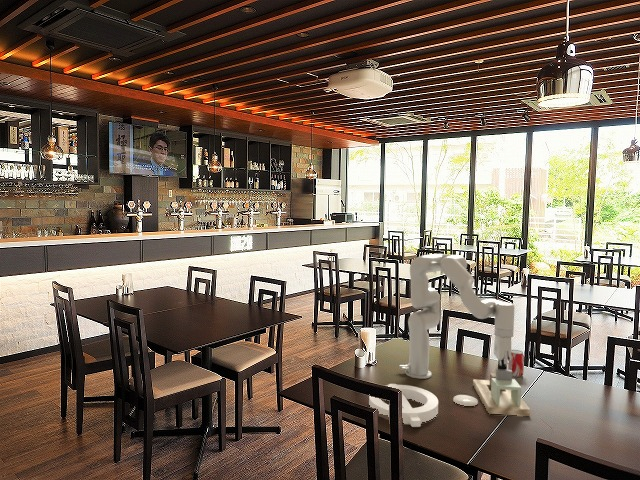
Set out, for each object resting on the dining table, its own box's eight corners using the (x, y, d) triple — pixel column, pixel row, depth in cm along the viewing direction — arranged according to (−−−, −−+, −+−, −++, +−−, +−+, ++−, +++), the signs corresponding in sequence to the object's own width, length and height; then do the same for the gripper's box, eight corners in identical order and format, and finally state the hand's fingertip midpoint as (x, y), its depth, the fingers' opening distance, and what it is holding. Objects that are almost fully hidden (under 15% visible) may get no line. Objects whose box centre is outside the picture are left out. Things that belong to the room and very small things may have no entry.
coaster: (455, 406, 197) (455, 403, 197) (451, 396, 207) (451, 394, 207) (480, 407, 196) (480, 405, 196) (475, 397, 206) (475, 395, 206)
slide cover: (496, 404, 191) (497, 376, 190) (490, 395, 200) (492, 368, 199) (520, 406, 190) (521, 377, 189) (513, 397, 199) (515, 369, 198)
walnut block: (491, 396, 208) (492, 376, 207) (489, 392, 212) (490, 372, 212) (502, 396, 207) (503, 377, 207) (499, 392, 212) (500, 373, 211)
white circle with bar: (391, 390, 214) (391, 379, 214) (449, 407, 197) (449, 396, 196) (355, 410, 193) (356, 399, 192) (417, 432, 175) (418, 420, 175)
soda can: (521, 378, 229) (522, 354, 228) (506, 375, 233) (507, 351, 232) (525, 374, 235) (526, 351, 234) (510, 371, 239) (511, 348, 238)
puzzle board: (488, 414, 190) (488, 407, 190) (473, 385, 220) (473, 379, 219) (530, 416, 188) (530, 409, 188) (508, 387, 218) (508, 381, 218)
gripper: (490, 326, 207) (488, 367, 209) (499, 336, 192) (497, 380, 194) (507, 327, 206) (506, 368, 208) (518, 337, 192) (516, 381, 193)
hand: (502, 373), depth 201 cm, fingers closed
